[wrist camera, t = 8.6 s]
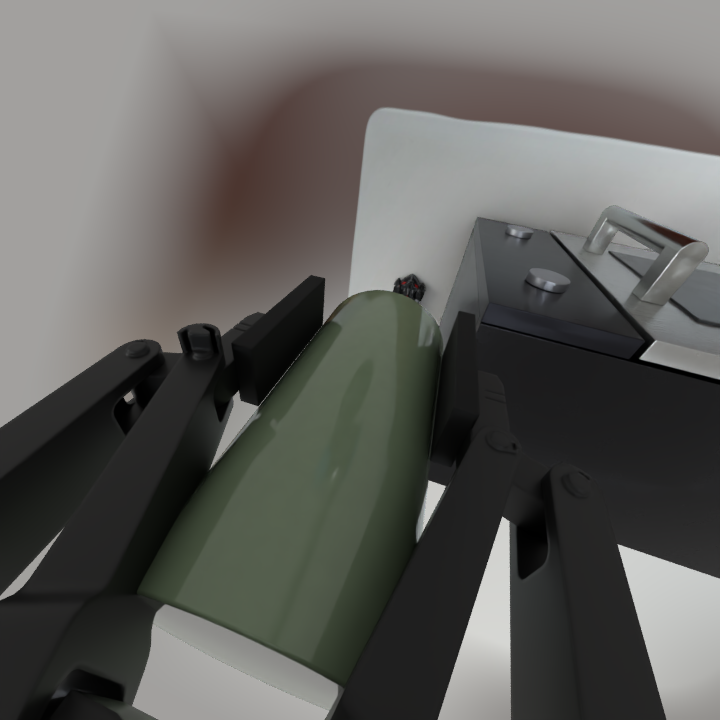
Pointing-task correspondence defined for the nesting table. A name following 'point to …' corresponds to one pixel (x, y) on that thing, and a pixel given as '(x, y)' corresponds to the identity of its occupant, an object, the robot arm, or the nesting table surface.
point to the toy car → (410, 288)
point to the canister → (310, 506)
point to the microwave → (592, 393)
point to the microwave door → (655, 288)
